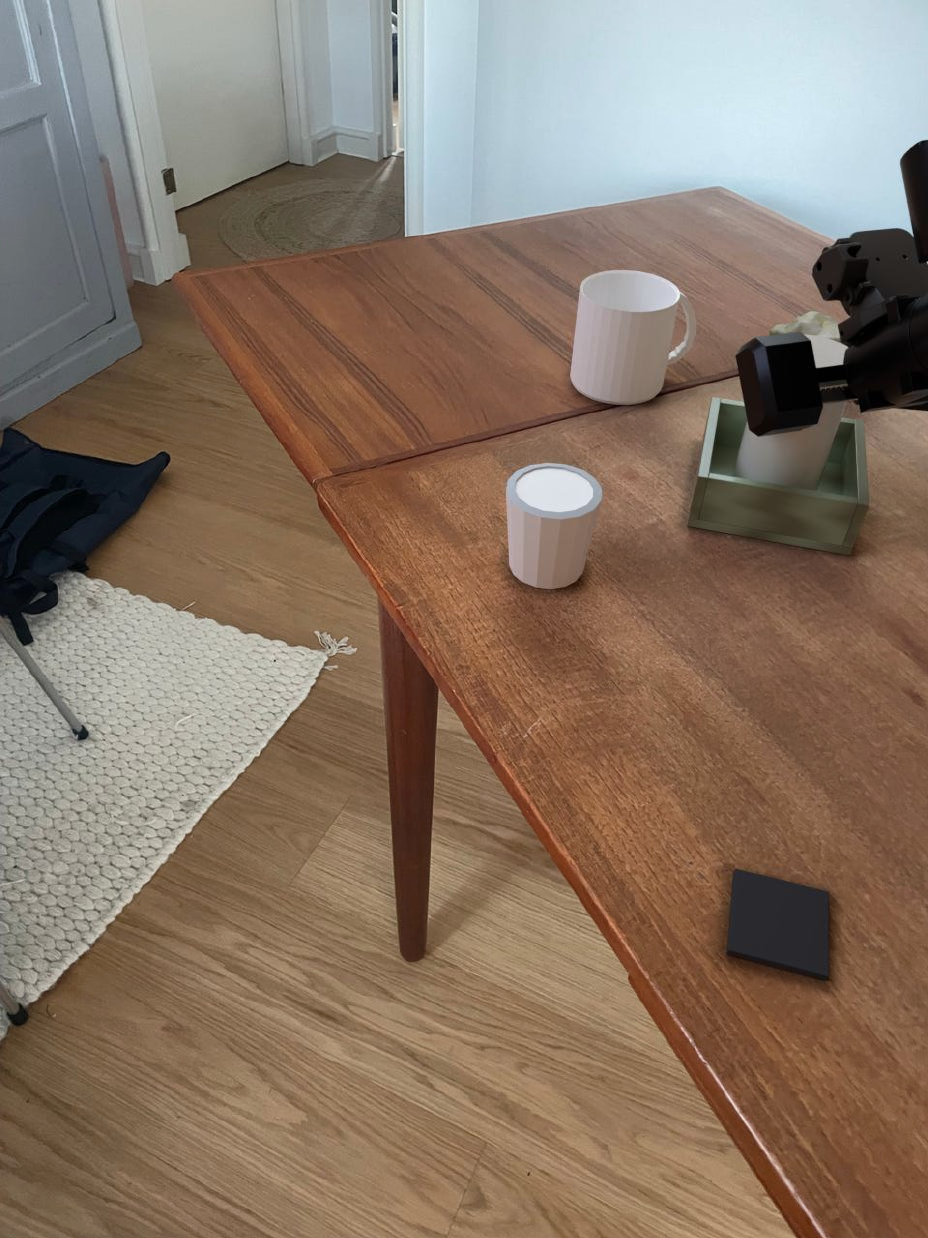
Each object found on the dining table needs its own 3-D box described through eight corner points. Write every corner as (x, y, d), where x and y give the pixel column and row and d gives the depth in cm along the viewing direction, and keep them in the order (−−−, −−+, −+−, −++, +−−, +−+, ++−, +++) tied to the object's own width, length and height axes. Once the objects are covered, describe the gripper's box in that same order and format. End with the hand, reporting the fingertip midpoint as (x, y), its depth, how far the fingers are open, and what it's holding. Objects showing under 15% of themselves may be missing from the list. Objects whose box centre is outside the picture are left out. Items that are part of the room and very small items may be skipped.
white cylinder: (815, 473, 79) (858, 341, 71) (814, 519, 74) (861, 383, 66) (733, 459, 80) (767, 328, 72) (727, 504, 76) (763, 368, 67)
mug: (579, 407, 88) (591, 313, 81) (562, 361, 94) (571, 270, 88) (703, 403, 89) (724, 309, 82) (677, 358, 95) (695, 268, 89)
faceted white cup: (562, 527, 74) (571, 452, 69) (609, 579, 70) (622, 502, 65) (485, 550, 72) (488, 474, 67) (528, 605, 67) (535, 527, 63)
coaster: (826, 896, 51) (828, 891, 50) (826, 981, 47) (829, 976, 47) (732, 872, 52) (734, 867, 51) (726, 954, 48) (728, 950, 48)
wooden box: (847, 468, 81) (864, 420, 78) (849, 556, 72) (869, 505, 69) (701, 444, 84) (711, 396, 80) (686, 526, 75) (697, 475, 71)
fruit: (863, 416, 90) (884, 347, 84) (762, 411, 92) (776, 343, 86) (857, 355, 96) (876, 286, 89) (762, 353, 97) (775, 284, 91)
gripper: (1052, 192, 58) (888, 289, 74) (788, 216, 54) (672, 314, 69) (1085, 367, 58) (914, 428, 73) (823, 404, 54) (699, 461, 69)
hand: (802, 404), depth 71 cm, fingers open, 9 cm apart
